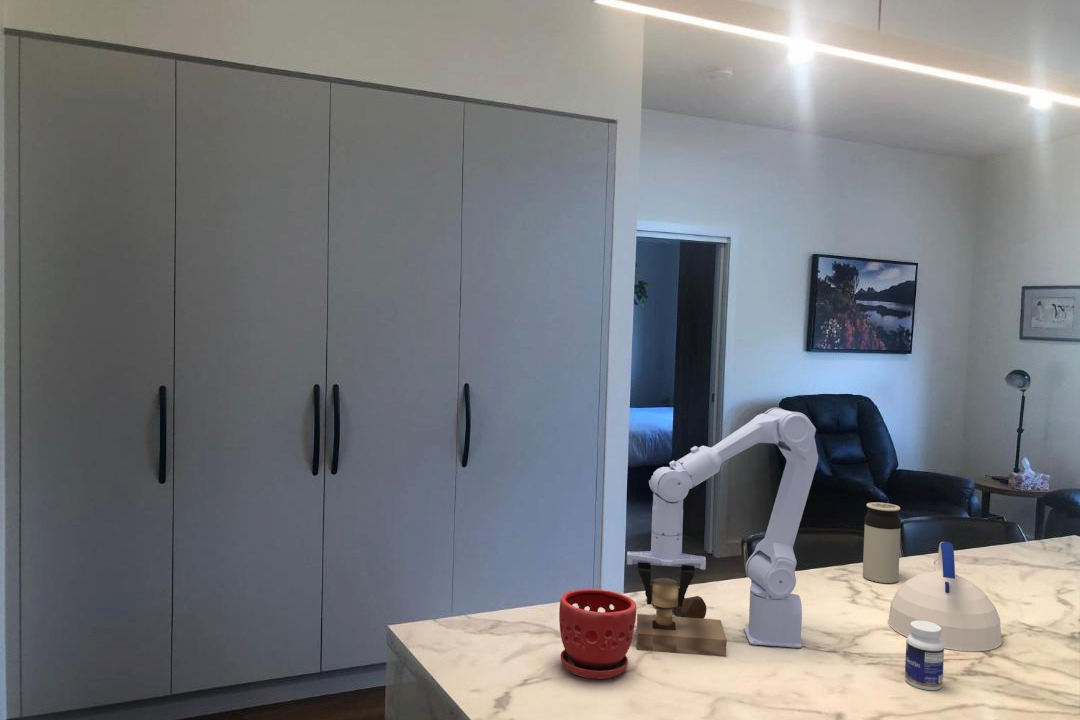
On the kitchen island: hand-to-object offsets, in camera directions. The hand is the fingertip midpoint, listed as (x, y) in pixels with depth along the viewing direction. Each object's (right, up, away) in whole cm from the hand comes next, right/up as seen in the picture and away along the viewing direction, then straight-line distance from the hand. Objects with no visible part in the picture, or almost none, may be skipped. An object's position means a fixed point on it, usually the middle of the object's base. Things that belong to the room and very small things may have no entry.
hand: (664, 603), depth 144 cm
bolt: (+4, -7, +17) cm, 19 cm away
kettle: (+57, -9, +9) cm, 59 cm away
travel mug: (+59, -8, +42) cm, 73 cm away
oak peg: (0, -3, 0) cm, 3 cm away
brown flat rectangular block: (+3, -7, 0) cm, 8 cm away
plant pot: (-14, -7, -12) cm, 20 cm away
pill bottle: (+41, -9, -15) cm, 45 cm away
